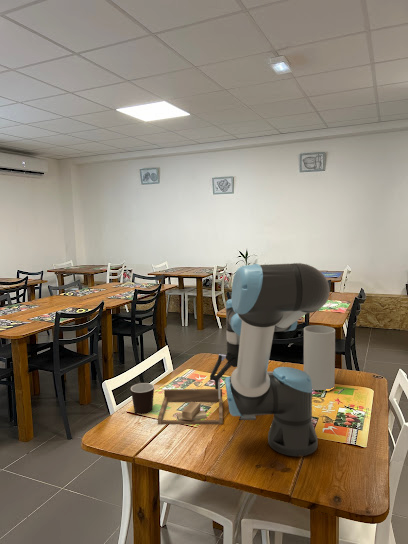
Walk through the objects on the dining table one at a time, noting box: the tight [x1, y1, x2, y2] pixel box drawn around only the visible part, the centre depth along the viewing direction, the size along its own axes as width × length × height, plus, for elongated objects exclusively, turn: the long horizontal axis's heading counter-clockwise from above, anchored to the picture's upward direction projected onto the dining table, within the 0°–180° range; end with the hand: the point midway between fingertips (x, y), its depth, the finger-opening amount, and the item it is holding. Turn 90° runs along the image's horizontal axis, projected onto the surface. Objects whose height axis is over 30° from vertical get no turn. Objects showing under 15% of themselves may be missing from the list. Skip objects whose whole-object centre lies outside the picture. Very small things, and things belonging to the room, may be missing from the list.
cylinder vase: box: [303, 324, 336, 390], centre depth 165 cm, size 12×12×25 cm
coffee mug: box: [130, 382, 155, 416], centre depth 148 cm, size 12×9×10 cm
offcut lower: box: [176, 409, 208, 420], centre depth 140 cm, size 4×10×3 cm, turn 105°
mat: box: [238, 415, 257, 421], centre depth 146 cm, size 12×12×1 cm
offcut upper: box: [181, 402, 201, 421], centre depth 140 cm, size 4×8×3 cm, turn 158°
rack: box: [157, 388, 224, 425], centre depth 145 cm, size 18×22×6 cm
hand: (237, 397), depth 146 cm, fingers open, 13 cm apart
